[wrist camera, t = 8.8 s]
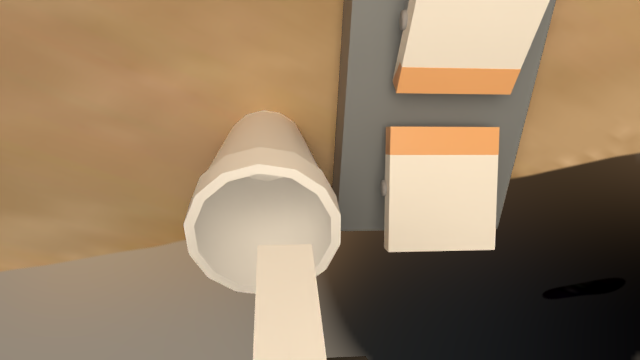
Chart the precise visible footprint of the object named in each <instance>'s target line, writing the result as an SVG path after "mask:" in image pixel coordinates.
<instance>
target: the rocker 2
mask: <svg viewBox="0 0 640 360" xmlns="http://www.w3.org/2000/svg"><path fill="white" fill-rule="evenodd" d="M499 129H500V127H386V150H385V180H382V181H381V186H380V189H381V195H382V196H385V216H384V248H385V249H386V250H387V251H388V252H412V251H457V250H458V251H460V250H495V232H496V204H497V177H498V155H499Z"/></svg>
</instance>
